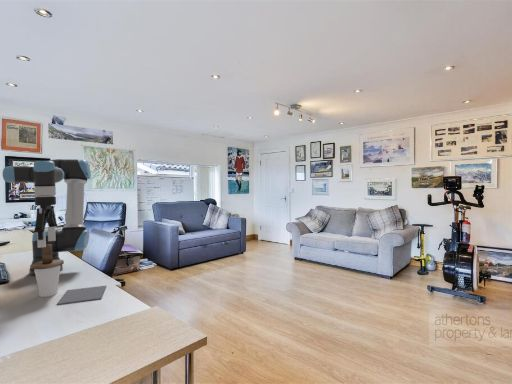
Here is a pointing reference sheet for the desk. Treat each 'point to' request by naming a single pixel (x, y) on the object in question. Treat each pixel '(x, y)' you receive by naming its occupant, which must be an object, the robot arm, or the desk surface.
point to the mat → (82, 295)
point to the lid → (47, 259)
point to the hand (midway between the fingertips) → (47, 244)
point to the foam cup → (47, 281)
